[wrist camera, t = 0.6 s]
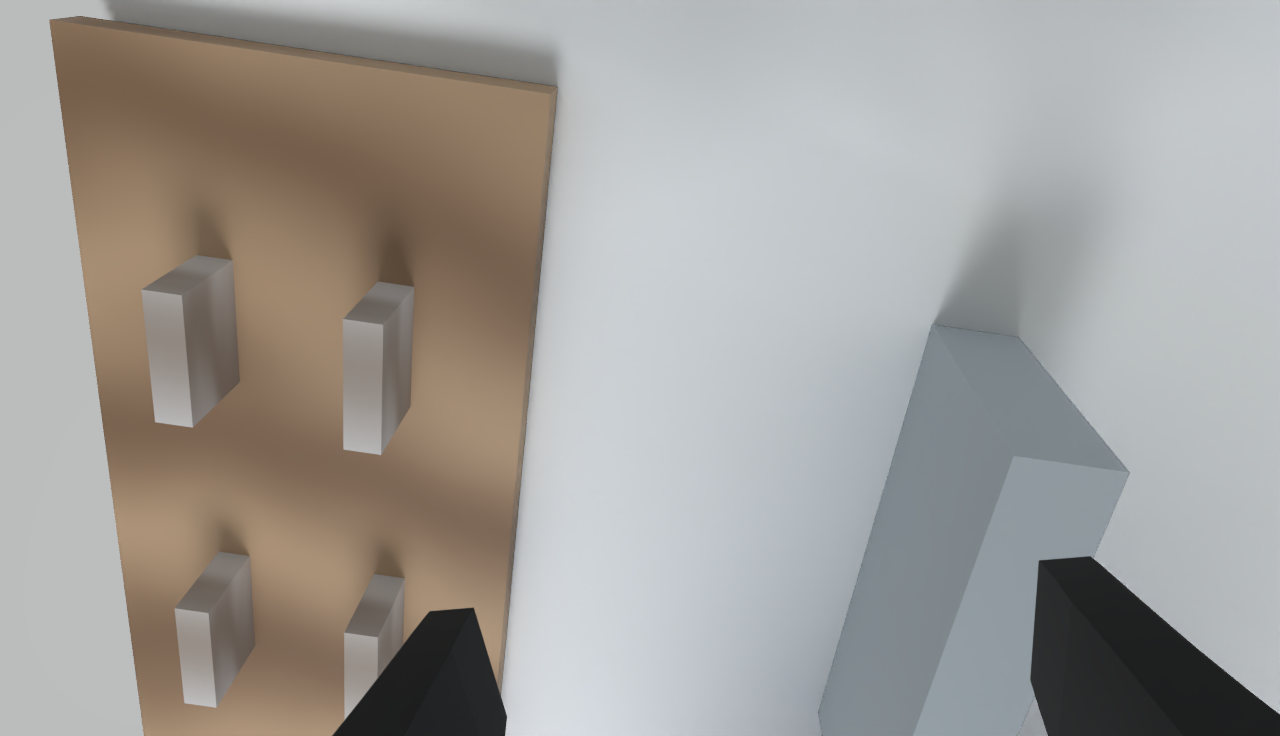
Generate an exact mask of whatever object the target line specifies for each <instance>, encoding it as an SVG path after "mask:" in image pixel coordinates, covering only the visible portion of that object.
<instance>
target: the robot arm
mask: <svg viewBox="0 0 1280 736" xmlns="http://www.w3.org/2000/svg"><path fill="white" fill-rule="evenodd" d="M1030 681H1031V684H1032V687H1033V691H1034V694H1035V697H1036V700H1037V703H1038V706H1039V709H1040V712H1041V716H1042V719H1043V722H1044V725H1045V728H1046V731H1047V734H1048V736H1280V714H1278V713H1277V712H1276V711H1274V710H1273V709H1272V708H1271V707H1269V706H1268V705H1267V704H1265V703H1264V702H1263V701H1262V700H1260V699H1259V698H1258V697H1256V696H1255V695H1254V694H1252V693H1251V692H1250V691H1249V690H1248V689H1246V688H1245V687H1244V686H1243V685H1241V684H1240V683H1239V682H1238V681H1236V680H1235V679H1234V678H1233V677H1232V676H1230V675H1229V674H1228V673H1227V672H1225V671H1224V670H1223V669H1222V668H1220V667H1219V666H1218V665H1217V664H1216V663H1214V662H1213V661H1212V660H1211V659H1209V658H1208V657H1207V656H1206V655H1204V654H1203V653H1202V652H1201V651H1200V650H1198V649H1197V648H1196V647H1195V646H1194V645H1192V644H1191V643H1190V642H1189V641H1188V640H1187V639H1185V638H1184V637H1183V636H1182V635H1181V634H1179V633H1178V632H1177V631H1176V630H1175V629H1174V628H1173V627H1171V626H1170V625H1169V624H1168V623H1167V622H1166V621H1164V620H1163V619H1162V618H1161V617H1160V616H1159V615H1157V614H1156V613H1155V612H1154V611H1153V610H1152V609H1151V608H1149V607H1148V606H1147V605H1146V604H1145V603H1144V602H1143V601H1141V600H1140V599H1139V598H1138V597H1137V596H1136V595H1135V594H1133V593H1132V592H1131V591H1130V590H1129V589H1128V588H1127V587H1125V586H1124V585H1123V584H1122V583H1121V582H1120V581H1119V580H1117V579H1116V578H1115V577H1114V576H1113V575H1112V574H1111V573H1109V572H1108V571H1107V570H1106V569H1105V568H1104V567H1103V566H1101V565H1100V564H1099V563H1098V562H1097V561H1095V560H1094V559H1093V558H1092V557H1091V556H1086V557H1074V558H1062V559H1050V560H1039V564H1038V578H1037V591H1036V605H1035V619H1034V633H1033V647H1032V661H1031V675H1030ZM506 721H507V715H506V712H505V709H504V705H503V702H502V699H501V695H500V692H499V689H498V686H497V682H496V679H495V676H494V672H493V669H492V666H491V662H490V659H489V656H488V653H487V649H486V646H485V643H484V639H483V636H482V633H481V629H480V626H479V623H478V619H477V616H476V613H475V610H474V607H473V608H461V609H449V610H437V611H429V612H428V614H427V615H426V616H425V617H424V618H423V620H422V621H421V622H420V623H419V625H418V626H417V627H416V628H415V630H414V631H413V632H412V634H411V635H410V636H409V638H408V639H407V640H406V641H405V643H404V644H403V645H402V647H401V648H400V649H399V651H398V652H397V653H396V655H395V656H394V657H393V659H392V660H391V661H390V663H389V664H388V665H387V666H386V668H385V669H384V670H383V672H382V673H381V674H380V676H379V677H378V678H377V680H376V681H375V682H374V683H373V685H372V686H371V687H370V689H369V690H368V691H367V692H366V694H365V695H364V696H363V698H362V699H361V700H360V701H359V703H358V704H357V705H356V706H355V708H354V709H353V710H352V711H351V713H350V714H349V715H348V716H347V718H346V719H345V720H344V721H343V723H342V724H341V725H340V726H339V728H338V729H337V730H336V731H335V733H334V734H333V735H332V736H505V730H506Z"/></svg>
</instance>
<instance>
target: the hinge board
mask: <svg viewBox="0 0 1280 736" xmlns="http://www.w3.org/2000/svg"><path fill="white" fill-rule="evenodd" d="M50 28H51V36H52V43H53V51H54V59H55V66H56V73H57V81H58V89H59V96H60V103H61V111H62V119H63V126H64V134H65V142H66V149H67V156H68V164H69V172H70V179H71V187H72V195H73V202H74V210H75V217H76V225H77V232H78V239H79V248H80V255H81V263H82V270H83V277H84V285H85V292H86V301H87V308H88V316H89V323H90V329H91V338H92V345H93V354H94V361H95V368H96V376H97V384H98V391H99V399H100V407H101V413H102V421H103V429H104V437H105V443H106V452H107V459H108V466H109V474H110V481H111V489H112V497H113V504H114V512H115V520H116V527H117V535H118V543H119V550H120V558H121V565H122V573H123V581H124V588H125V596H126V603H127V611H128V618H129V625H130V633H131V641H132V649H133V656H134V664H135V671H136V679H137V686H138V694H139V700H140V701H139V702H140V708H141V717H142V724H143V732H144V736H332V735H333V734H334V733H335V731H336V730H337V729H338V728H339V726H340V725H341V724H342V723H343V721H344V720H345V719H346V718H347V716H348V715H349V714H350V713H351V711H352V710H353V709H354V708H355V706H356V705H357V704H358V703H359V701H360V700H361V699H362V698H363V696H364V695H365V694H366V692H367V691H368V690H369V689H370V687H371V686H372V685H373V683H374V682H375V681H376V680H377V678H378V677H379V676H380V674H381V673H382V672H383V670H384V669H385V668H386V666H387V665H388V664H389V663H390V661H391V660H392V659H393V657H394V656H395V655H396V653H397V652H398V651H399V649H400V648H401V647H402V645H403V644H404V643H405V641H406V640H407V639H408V638H409V636H410V635H411V634H412V632H413V631H414V630H415V628H416V627H417V626H418V625H419V623H420V622H421V621H422V620H423V618H424V617H425V616H426V615H427V614H428V612H429V611H437V610H449V609H461V608H473V607H474V610H475V613H476V616H477V619H478V623H479V626H480V629H481V633H482V636H483V639H484V643H485V646H486V649H487V653H488V656H489V659H490V662H491V666H492V669H493V672H494V676H495V679H496V682H497V686H498V689H499V692H500V695H501V688H502V678H503V667H504V656H505V645H506V635H507V624H508V613H509V603H510V592H511V581H512V570H513V560H514V549H515V538H516V528H517V517H518V506H519V495H520V485H521V474H522V463H523V453H524V442H525V431H526V421H527V410H528V399H529V388H530V378H531V367H532V356H533V346H534V335H535V324H536V313H537V303H538V292H539V281H540V271H541V260H542V249H543V238H544V228H545V217H546V206H547V196H548V185H549V174H550V163H551V153H552V142H553V131H554V121H555V110H556V99H557V88H558V87H555V86H548V85H542V84H535V83H528V82H521V81H515V80H508V79H501V78H495V77H488V76H481V75H474V74H468V73H461V72H454V71H447V70H441V69H434V68H427V67H420V66H414V65H407V64H400V63H393V62H387V61H380V60H373V59H366V58H360V57H353V56H346V55H339V54H333V53H326V52H319V51H312V50H306V49H299V48H292V47H285V46H279V45H272V44H265V43H258V42H252V41H245V40H238V39H231V38H225V37H218V36H211V35H204V34H198V33H191V32H184V31H177V30H171V29H164V28H157V27H150V26H144V25H137V24H130V23H123V22H117V21H110V20H103V19H96V18H89V17H83V16H77V17H69V18H60V19H52V20H50Z"/></svg>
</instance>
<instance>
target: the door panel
mask: <svg viewBox="0 0 1280 736" xmlns="http://www.w3.org/2000/svg"><path fill="white" fill-rule="evenodd" d="M1129 473H1130V472H1129V471H1128V470H1127V469H1126V467H1125V466H1124V465H1123V464H1122V462H1121V461H1120V460H1119V459H1118V458H1117V456H1116V455H1115V454H1114V453H1113V452H1112V450H1111V449H1110V448H1109V447H1108V445H1107V444H1106V443H1105V442H1104V441H1103V439H1102V438H1101V437H1100V436H1099V434H1098V433H1097V432H1096V431H1095V430H1094V428H1093V427H1092V426H1091V425H1090V423H1089V422H1088V421H1087V420H1086V419H1085V417H1084V416H1083V415H1082V414H1081V413H1080V411H1079V410H1078V409H1077V408H1076V406H1075V405H1074V404H1073V403H1072V402H1071V400H1070V399H1069V398H1068V397H1067V395H1066V394H1065V393H1064V392H1063V391H1062V389H1061V388H1060V387H1059V386H1058V384H1057V383H1056V382H1055V381H1054V380H1053V378H1052V377H1051V376H1050V375H1049V374H1048V372H1047V371H1046V370H1045V369H1044V367H1043V366H1042V365H1041V364H1040V363H1039V361H1038V360H1037V359H1036V358H1035V356H1034V355H1033V354H1032V353H1031V352H1030V350H1029V349H1028V348H1027V347H1026V345H1025V344H1024V343H1023V342H1022V341H1021V339H1020V338H1019V337H1014V336H1007V335H1000V334H993V333H987V332H980V331H973V330H966V329H959V328H953V327H946V326H939V325H932V327H931V330H930V333H929V337H928V340H927V344H926V347H925V350H924V354H923V357H922V361H921V364H920V367H919V371H918V374H917V378H916V381H915V385H914V388H913V391H912V395H911V398H910V402H909V405H908V408H907V412H906V415H905V419H904V422H903V425H902V429H901V432H900V436H899V439H898V442H897V446H896V449H895V453H894V456H893V459H892V463H891V466H890V470H889V473H888V476H887V480H886V483H885V487H884V490H883V493H882V497H881V500H880V504H879V507H878V510H877V514H876V517H875V521H874V524H873V527H872V531H871V534H870V538H869V541H868V544H867V548H866V551H865V555H864V558H863V561H862V565H861V568H860V572H859V575H858V578H857V582H856V585H855V589H854V592H853V595H852V599H851V602H850V606H849V609H848V612H847V616H846V619H845V623H844V626H843V629H842V633H841V636H840V640H839V643H838V646H837V650H836V653H835V657H834V660H833V663H832V667H831V670H830V674H829V677H828V680H827V684H826V687H825V691H824V694H823V697H822V701H821V704H820V708H819V711H818V714H819V720H820V726H821V733H822V736H1018V734H1019V731H1020V729H1021V727H1022V724H1023V722H1024V720H1025V717H1026V715H1027V713H1028V710H1029V708H1030V705H1031V703H1032V701H1033V698H1034V696H1035V694H1034V691H1033V687H1032V684H1031V681H1030V675H1031V661H1032V647H1033V633H1034V619H1035V605H1036V591H1037V578H1038V564H1039V560H1050V559H1062V558H1074V557H1086V556H1091V557H1092V558H1094V555H1095V553H1096V551H1097V548H1098V546H1099V544H1100V541H1101V539H1102V537H1103V534H1104V532H1105V530H1106V527H1107V525H1108V523H1109V520H1110V518H1111V515H1112V513H1113V511H1114V508H1115V506H1116V504H1117V501H1118V499H1119V497H1120V494H1121V492H1122V490H1123V487H1124V485H1125V483H1126V480H1127V478H1128V476H1129Z"/></svg>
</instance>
